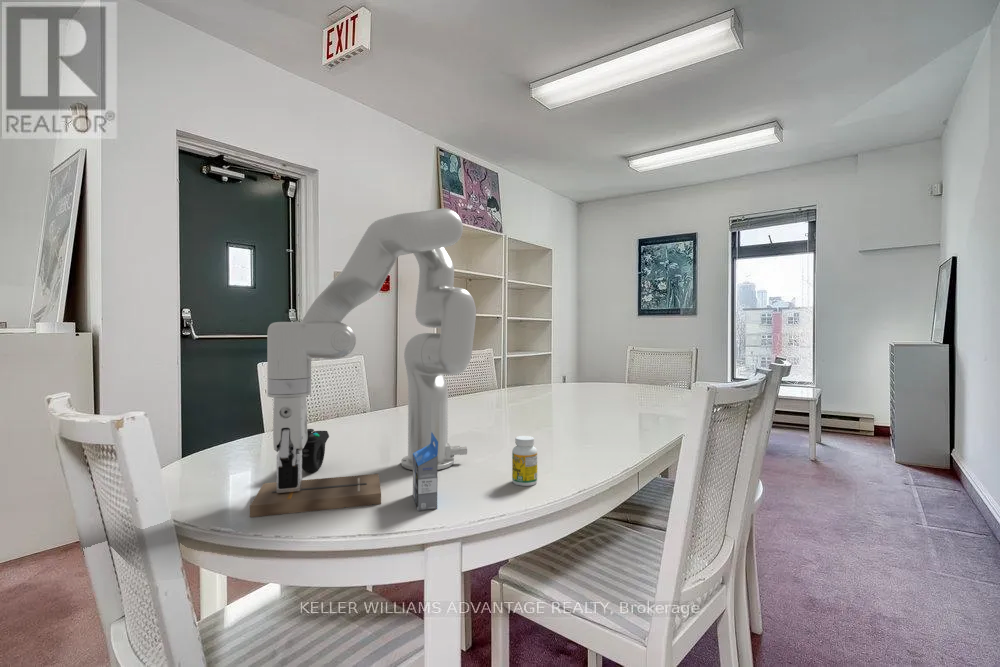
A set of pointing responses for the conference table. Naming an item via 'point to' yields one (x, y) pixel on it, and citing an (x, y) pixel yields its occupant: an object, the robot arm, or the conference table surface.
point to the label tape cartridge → (426, 476)
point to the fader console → (318, 495)
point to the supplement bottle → (524, 461)
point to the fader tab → (299, 463)
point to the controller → (314, 450)
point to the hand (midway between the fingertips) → (289, 483)
